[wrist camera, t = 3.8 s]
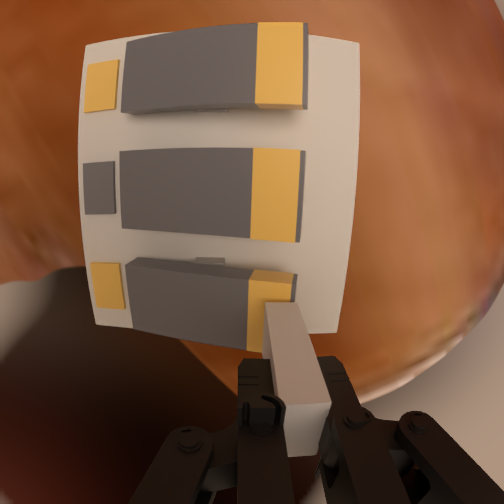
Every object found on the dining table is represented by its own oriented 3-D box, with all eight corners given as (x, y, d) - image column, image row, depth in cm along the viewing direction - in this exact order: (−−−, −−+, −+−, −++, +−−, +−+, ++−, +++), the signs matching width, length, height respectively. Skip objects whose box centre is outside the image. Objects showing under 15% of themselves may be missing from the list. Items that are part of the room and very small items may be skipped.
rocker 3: (144, 318, 18) (133, 329, 17) (137, 256, 17) (124, 264, 16) (290, 341, 17) (288, 356, 15) (297, 273, 16) (296, 284, 14)
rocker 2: (135, 223, 17) (121, 228, 15) (134, 150, 15) (119, 150, 14) (301, 235, 15) (299, 243, 14) (306, 151, 14) (305, 150, 12)
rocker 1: (135, 115, 15) (120, 112, 13) (140, 48, 14) (126, 41, 12) (307, 110, 13) (306, 104, 12) (308, 34, 12) (307, 22, 11)
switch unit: (115, 299, 23) (90, 331, 18) (110, 60, 17) (78, 41, 12) (322, 305, 23) (340, 340, 18) (339, 60, 18) (365, 37, 13)
